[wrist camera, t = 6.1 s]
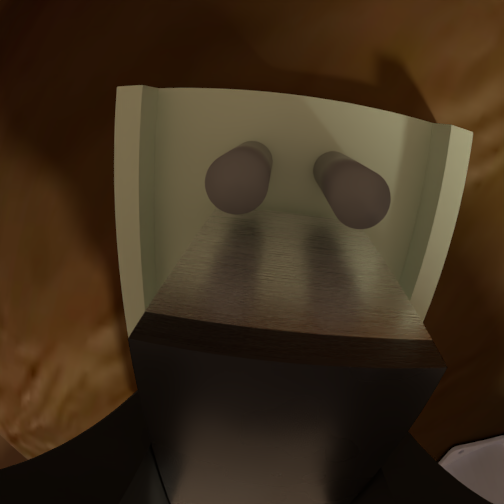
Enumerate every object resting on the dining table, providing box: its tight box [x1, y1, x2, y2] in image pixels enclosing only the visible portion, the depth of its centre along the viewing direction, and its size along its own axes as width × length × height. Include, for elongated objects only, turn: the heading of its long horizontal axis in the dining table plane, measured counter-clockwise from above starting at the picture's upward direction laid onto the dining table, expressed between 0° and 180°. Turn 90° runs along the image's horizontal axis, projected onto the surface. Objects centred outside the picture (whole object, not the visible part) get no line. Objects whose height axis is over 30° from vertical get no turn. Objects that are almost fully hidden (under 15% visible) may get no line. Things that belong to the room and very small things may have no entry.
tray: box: [114, 85, 473, 338], centre depth 10 cm, size 10×16×4 cm, turn 175°
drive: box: [128, 207, 447, 504], centre depth 8 cm, size 4×9×6 cm, turn 175°
